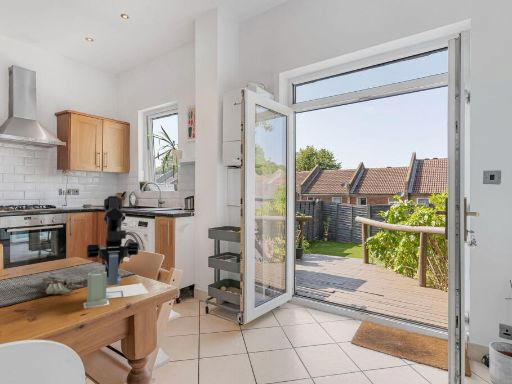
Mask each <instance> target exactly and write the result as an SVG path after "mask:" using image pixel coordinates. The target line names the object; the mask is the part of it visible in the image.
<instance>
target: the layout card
mask: <svg viewBox="0 0 512 384" xmlns="http://www.w3.org/2000/svg"><path fill="white" fill-rule="evenodd" d="M145 294H150V292H149V291H148V289H147V288H146V287H145V286H144V285H143V283H142V282H141V283H134V284H127V285H120V286H118V285H117V286H110V287H106V304H103V305H96V306H90V307H87V301H86V302H83V304H82V305H83V309H84V310H85V309H90V308H96V307H102V306H109V305H110V302H109V300H113V299H118V298H119V299H121V298H126V297H127V298H128V297H131V296H139V295H145Z"/></svg>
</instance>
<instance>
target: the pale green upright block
mask: <svg viewBox="0 0 512 384" xmlns="http://www.w3.org/2000/svg"><path fill="white" fill-rule="evenodd" d="M92 273H93V272H91V273H87V281H86V282H87V285H86V287H87V288H86V289H87V291H86V302H87V307H90V306H96V305H103V304H106V288H107V286H106V285H107V272H105V271H103V272H102V273H95V274H92ZM103 306H104V305H103Z"/></svg>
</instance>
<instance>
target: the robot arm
mask: <svg viewBox="0 0 512 384" xmlns="http://www.w3.org/2000/svg"><path fill="white" fill-rule="evenodd" d="M122 208H123V199H121V197H120V196H117V195H109V196H108V197H106V198H105V199H104V200H103V209H104V210H105V213H104V214H103V215H104V217H103V218H104V219H103V220H104V223H105V225H106V233H105V234H106V236H105V245H99V243H94V244H93V243H91V244H90V243H89V244H88V245H87V246H86V257H87V258H88V259H92V258H93V259H94V258H95V259H96V258H99V259H102V262H101V263H102V266H104V267H105V269H104V272H107V277H109V254H110V253H118V269H119V268H120V266H121V264H123V262H124V258H127V257H128V255H129V256H137V255H138V254H139V249H140V246H139V245H140V244H139V242H135V241H134V242H127V243H128V245H127V246H126V245H125V246H124V245H123V240H126V238H127V230H126V229H122V224H123V223H124V221H125V220H126V216H125V214H124V213H123V211H122V210H123V209H122ZM118 276H120V277H121V275H120V274H119V273H118Z"/></svg>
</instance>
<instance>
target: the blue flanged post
mask: <svg viewBox="0 0 512 384" xmlns="http://www.w3.org/2000/svg"><path fill="white" fill-rule="evenodd" d="M118 274H119V268H118V253H110V254H109V277H107V285H106V287H107V286H114V285H115V286H116V285H117V286H118V285H121V284H122V279H121V278H122V277H121V275H120V276H118Z"/></svg>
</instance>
